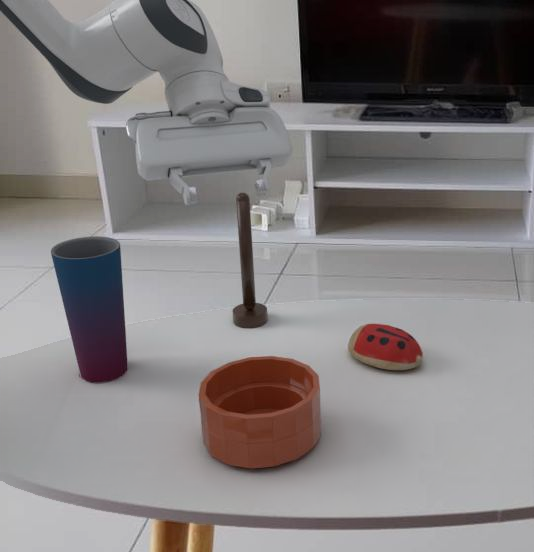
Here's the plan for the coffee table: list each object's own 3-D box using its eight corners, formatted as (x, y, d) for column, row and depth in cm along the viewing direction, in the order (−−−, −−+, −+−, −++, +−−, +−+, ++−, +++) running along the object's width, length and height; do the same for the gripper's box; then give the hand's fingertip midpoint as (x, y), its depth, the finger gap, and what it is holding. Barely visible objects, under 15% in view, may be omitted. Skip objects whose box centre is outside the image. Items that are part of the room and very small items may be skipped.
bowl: (199, 478, 68) (193, 421, 65) (209, 410, 78) (204, 359, 75) (323, 468, 69) (322, 413, 67) (317, 403, 79) (316, 353, 77)
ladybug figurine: (366, 336, 94) (366, 311, 92) (435, 357, 89) (437, 330, 88) (335, 359, 88) (334, 332, 87) (408, 382, 84) (408, 354, 82)
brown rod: (232, 328, 95) (222, 198, 88) (234, 314, 99) (224, 188, 92) (267, 327, 96) (260, 197, 89) (267, 312, 100) (261, 187, 93)
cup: (143, 376, 84) (128, 250, 78) (80, 393, 80) (58, 263, 74) (126, 351, 89) (110, 232, 83) (65, 366, 85) (44, 243, 80)
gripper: (123, 99, 94) (147, 195, 90) (279, 90, 103) (307, 177, 99) (122, 128, 99) (144, 220, 95) (270, 117, 108) (296, 201, 104)
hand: (228, 198), depth 97 cm, fingers open, 8 cm apart
